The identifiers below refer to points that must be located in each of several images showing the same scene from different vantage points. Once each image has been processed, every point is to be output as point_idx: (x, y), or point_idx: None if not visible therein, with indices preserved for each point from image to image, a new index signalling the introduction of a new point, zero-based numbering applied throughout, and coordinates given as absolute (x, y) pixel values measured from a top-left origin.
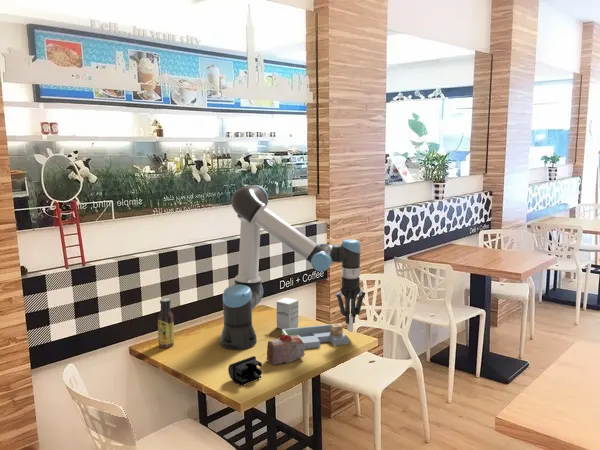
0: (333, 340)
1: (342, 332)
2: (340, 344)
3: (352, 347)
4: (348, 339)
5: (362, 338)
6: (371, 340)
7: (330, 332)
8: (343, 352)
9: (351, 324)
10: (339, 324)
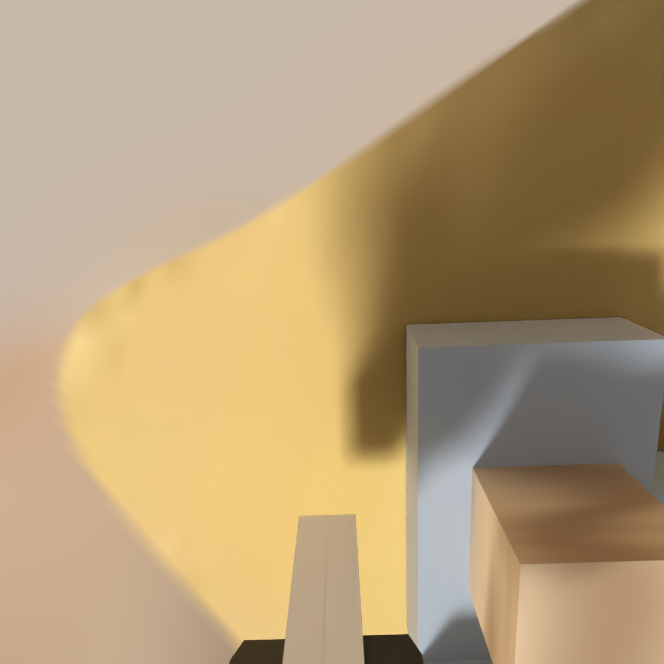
0: (655, 356)
1: (487, 494)
2: (528, 321)
3: (400, 194)
4: (421, 342)
5: (171, 451)
6: (69, 364)
7: None
8: (593, 45)
9: (318, 604)
10: (542, 659)
